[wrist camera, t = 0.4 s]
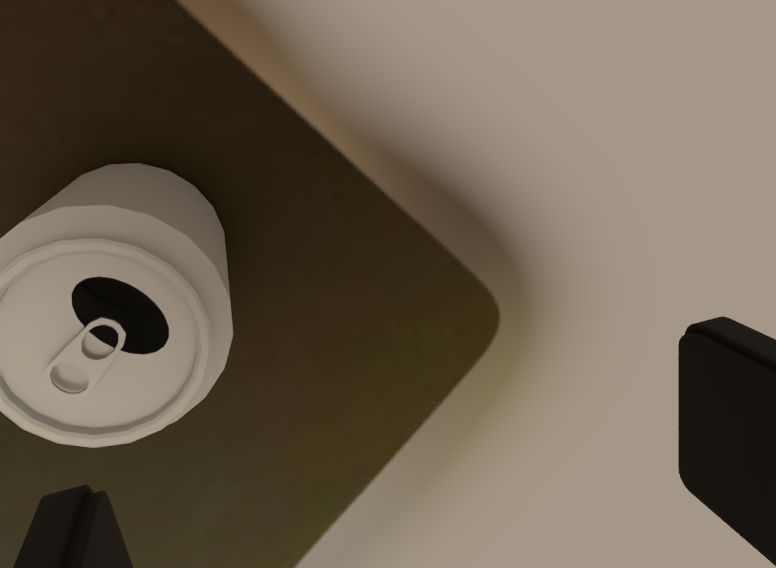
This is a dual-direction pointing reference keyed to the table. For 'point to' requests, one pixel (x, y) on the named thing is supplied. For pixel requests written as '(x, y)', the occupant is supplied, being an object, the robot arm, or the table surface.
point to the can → (113, 307)
